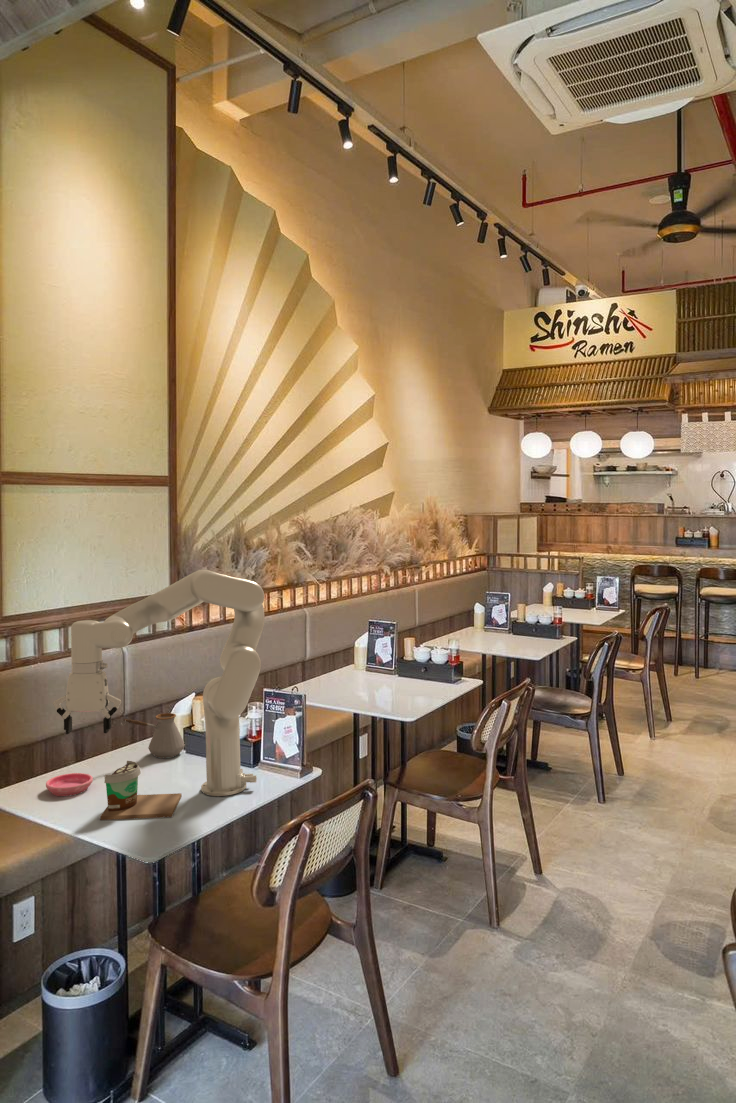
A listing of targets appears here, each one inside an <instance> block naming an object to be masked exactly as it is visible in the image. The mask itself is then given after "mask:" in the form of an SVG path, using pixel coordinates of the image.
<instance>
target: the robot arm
mask: <svg viewBox="0 0 736 1103" xmlns="http://www.w3.org/2000/svg"><path fill="white" fill-rule="evenodd" d="M264 601H265V592H264V590H263V588H262V586H261V585H260V584H258V582H255V581H253V580H250V579H246V578H238V577H233V576H229V575H226V574H223V573H218V572H216V571H212V570H209V569H198V570H195V571H193V572H192V573H190V574H188V575H186V576H184V577H183V578H181V579H180V580H177V581H176V582H174V583H172V584H170V585H168V586H166V587H164V588H163V589H161V590H159V591H157V592H155V593H153V594H150V595H149V596H147V597H145V598H143V599H141V600H139V601H136V602H135V603H132V604H130V605H129V606H127V607H125V608H123V609H121V610H119V611H117V612H115V613H114V614H112V615H110V616H109V617H107V618H106V619H105V620H103V622H100V621H98V620H95V619H93V620H91V619H85V620H77V621H75V622H73V623H72V624H71V626H70V637H71V639H70V640H71V642H70V643H71V645H70V646H71V650H70V651H71V653H70V654H71V659H70V660H71V672H70V673H69V674H68V678H67V684H66V693H65V695H64V696H61V697H60V698H58V699H56V700H54V701H53V702H52V705H53V707H54V709H55V711H56V713H57V714H59V716H61V718H62V720H63V730H64V731H65V735H68V734H70V733H71V732H72V731H73V717H72V715H71V714H72V713H75V712H76V713H83V712H84V713H85V712H86V713H91V712H100V713H101V714H102V715H103V716H104V718H103V722H102V723H103V734H107V733H109V731H110V730H111V729H112V716H113V715H114V714H115V713H116V712H117V711H118V709H119V707H120V705H121V704H122V699H120V698H118V697H116V696H114V695H112V694H110V693H109V685H108V678H107V677H108V676H107V673H106V671H104V669H108V667H109V664H108V662H104V660H103V649H122V648H125V647H127V646H128V645H129V644H130V643H131V642H132V640H133V637H134V634H135V633H137V632H139V631H141V630H143V629H145V628H147V627H149V626H151V625H155V624H158V623H165V622H169V621H172V620H174V619H176V618H178V617H180V616H181V615H183V614H185V613H186V612H188V611H189V610H191V609H194V608H195V607H197V606H199V605H201V604H202V603H207V604H210V605H214V606H218V607H222V608H228V609H232V610H234V620H233V623H232V626H231V630H230V631H229V632H230V633H229V635H228V637H227V640H226V642H225V644H224V647H223V649H222V651H221V654H220V655H219V664H220V667H221V669H222V670H223V672H222V674H221V675H222V676H218V677H214V678H212V679H210V680H209V681H208V682H207V683H206V685H205V686H204V689H203V692H202V706H203V711H204V713H203V714H204V725H205V728H204V729H205V762H206V764H205V766H206V767H205V768H206V781H205V782H203V783H202V784H201V786H200V787H201V788H200V790H201V792H202V793H203V794H204V795H207V796H212V797H226V796H227V797H228V796H232V795H236V794H239V793H241V792H244V791H245V789H246V788H247V783H250V784H251V783H252V784H253V783H257V779H258V778H257V777H258V776H257V775H254V774H253V773H245V772H244V771H243V770H244V769H243V768H241V742H240V741H241V736H240V732H241V730H240V729H241V728H240V727H241V726H240V715H241V714H242V713H243V712H244V711H245V709H246V707H247V705H248V703H249V700H250V698H251V695H252V692H253V690H254V688H255V686H256V683H257V680H258V678H259V675H260V671H261V668H262V666H261V665H262V663H261V662H262V661H261V658H260V655H259V653H258V652H257V651H256V650H257V647H258V644H259V641H260V639H261V636H262V634H263V633H262V632H263V630H264V626H265V609H264V606H263V603H264ZM64 702H65V708H64V707H62V704H63V703H64ZM110 702H111V703H113V707H112V708H111V709H110V708H109V705H110Z"/></svg>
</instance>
